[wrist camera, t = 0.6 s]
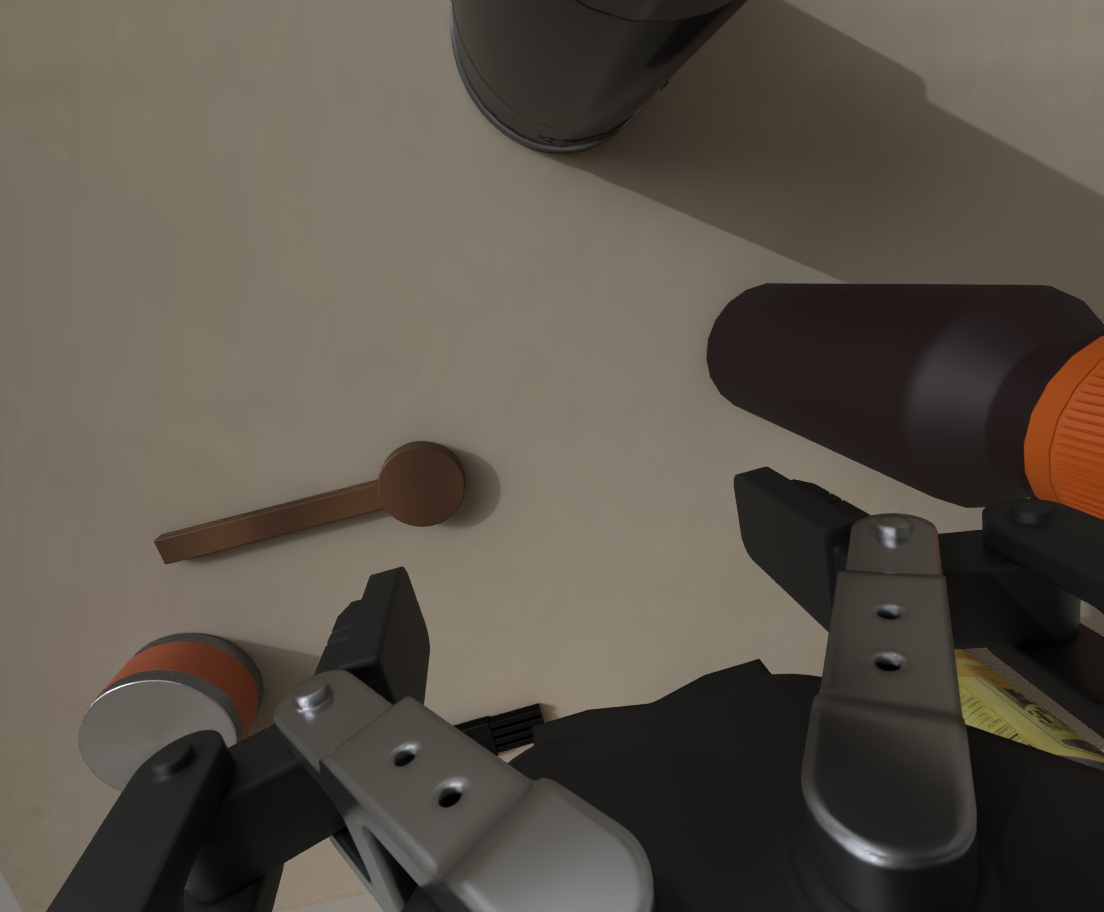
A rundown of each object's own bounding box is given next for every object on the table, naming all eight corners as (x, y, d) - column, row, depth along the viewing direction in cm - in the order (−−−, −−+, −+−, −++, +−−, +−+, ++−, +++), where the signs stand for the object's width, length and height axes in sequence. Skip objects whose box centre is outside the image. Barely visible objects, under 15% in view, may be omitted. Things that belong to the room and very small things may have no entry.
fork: (292, 807, 36) (289, 817, 35) (277, 775, 35) (273, 785, 34) (547, 733, 37) (548, 741, 36) (538, 701, 36) (539, 708, 35)
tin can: (99, 653, 31) (48, 704, 27) (234, 617, 32) (202, 663, 28) (157, 756, 33) (117, 817, 29) (282, 721, 34) (259, 777, 30)
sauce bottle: (966, 673, 40) (1409, 1021, 21) (890, 723, 40) (1258, 1108, 22) (933, 609, 38) (1388, 929, 19) (852, 662, 38) (1223, 1028, 20)
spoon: (184, 582, 31) (174, 593, 30) (148, 508, 29) (136, 516, 28) (474, 507, 32) (474, 515, 31) (452, 431, 30) (451, 437, 29)
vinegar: (707, 419, 32) (1055, 618, 13) (699, 293, 30) (1100, 313, 11) (822, 398, 33) (1314, 560, 14) (822, 273, 31) (1403, 260, 12)
